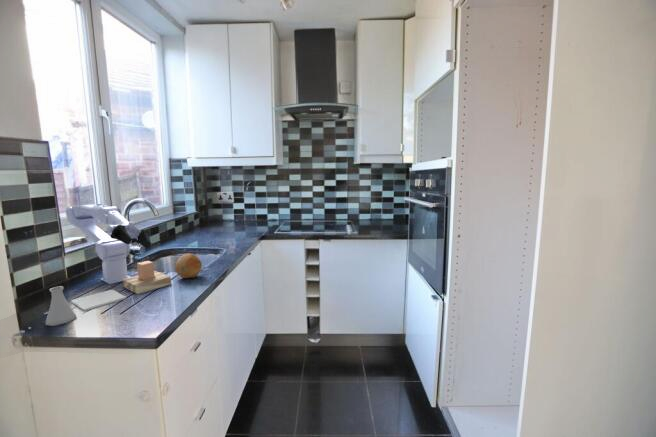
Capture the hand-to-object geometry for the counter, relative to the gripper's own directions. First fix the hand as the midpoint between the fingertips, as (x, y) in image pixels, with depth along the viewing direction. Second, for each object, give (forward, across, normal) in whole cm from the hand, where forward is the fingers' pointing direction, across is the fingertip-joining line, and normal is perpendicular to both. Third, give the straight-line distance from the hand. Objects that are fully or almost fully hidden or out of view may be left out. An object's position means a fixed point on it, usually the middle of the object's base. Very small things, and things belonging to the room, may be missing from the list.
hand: (139, 243), depth 113 cm
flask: (+11, -18, +24) cm, 31 cm away
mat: (+4, -5, +21) cm, 22 cm away
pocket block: (+4, +10, +14) cm, 18 cm away
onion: (+10, +21, +7) cm, 24 cm away
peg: (+4, +10, +14) cm, 18 cm away
